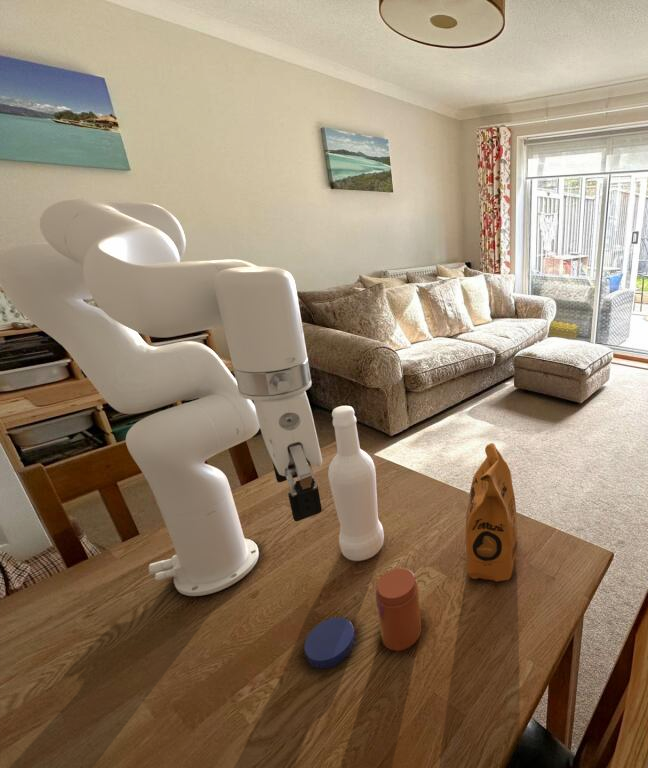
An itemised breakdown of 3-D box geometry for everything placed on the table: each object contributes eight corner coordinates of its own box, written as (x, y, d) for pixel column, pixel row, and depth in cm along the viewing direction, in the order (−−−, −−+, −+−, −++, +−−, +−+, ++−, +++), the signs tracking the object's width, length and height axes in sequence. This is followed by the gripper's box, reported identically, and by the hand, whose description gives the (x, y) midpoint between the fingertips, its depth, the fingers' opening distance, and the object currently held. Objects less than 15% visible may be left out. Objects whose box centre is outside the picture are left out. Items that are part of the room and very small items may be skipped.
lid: (341, 616, 65) (340, 608, 64) (364, 644, 61) (362, 636, 60) (297, 647, 60) (295, 639, 60) (318, 679, 56) (316, 671, 55)
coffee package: (458, 582, 72) (455, 478, 64) (470, 532, 83) (469, 439, 75) (514, 586, 71) (518, 482, 63) (518, 536, 83) (522, 442, 74)
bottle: (371, 566, 74) (350, 422, 63) (332, 559, 76) (305, 416, 65) (392, 536, 82) (376, 401, 71) (355, 529, 83) (335, 397, 72)
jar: (386, 658, 59) (379, 606, 55) (377, 624, 64) (370, 575, 60) (426, 639, 62) (422, 589, 58) (415, 608, 67) (410, 560, 63)
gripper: (330, 393, 43) (348, 520, 50) (292, 352, 56) (310, 458, 62) (249, 411, 39) (281, 547, 45) (227, 361, 51) (254, 474, 58)
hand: (298, 495), depth 54 cm, fingers open, 9 cm apart
